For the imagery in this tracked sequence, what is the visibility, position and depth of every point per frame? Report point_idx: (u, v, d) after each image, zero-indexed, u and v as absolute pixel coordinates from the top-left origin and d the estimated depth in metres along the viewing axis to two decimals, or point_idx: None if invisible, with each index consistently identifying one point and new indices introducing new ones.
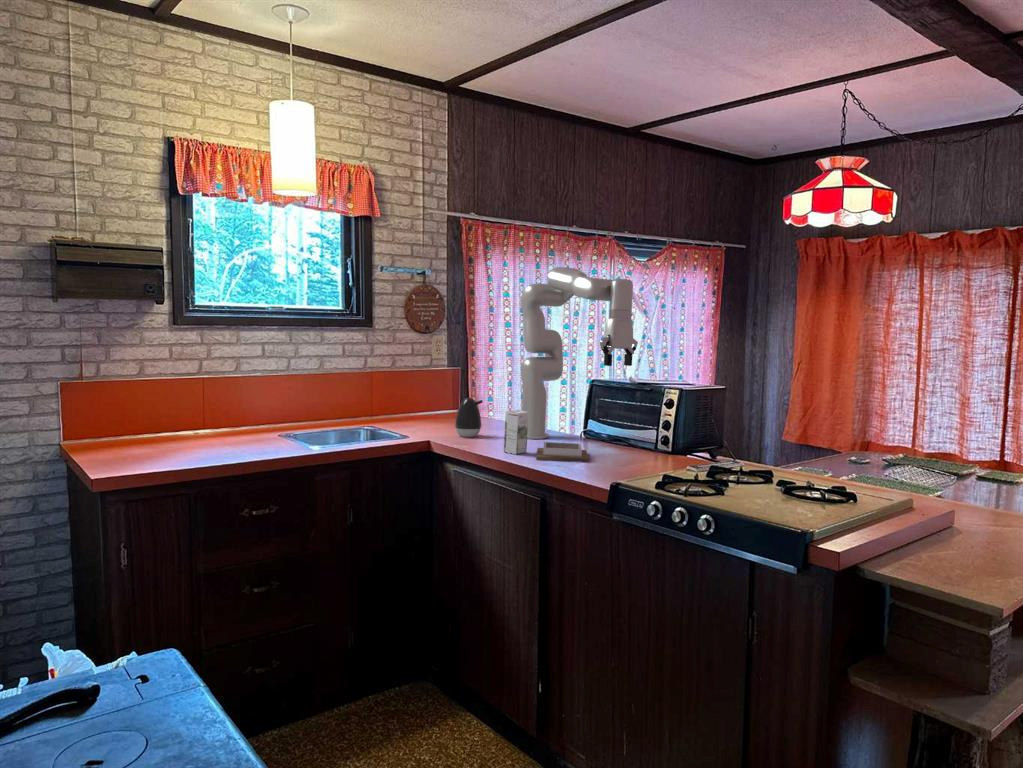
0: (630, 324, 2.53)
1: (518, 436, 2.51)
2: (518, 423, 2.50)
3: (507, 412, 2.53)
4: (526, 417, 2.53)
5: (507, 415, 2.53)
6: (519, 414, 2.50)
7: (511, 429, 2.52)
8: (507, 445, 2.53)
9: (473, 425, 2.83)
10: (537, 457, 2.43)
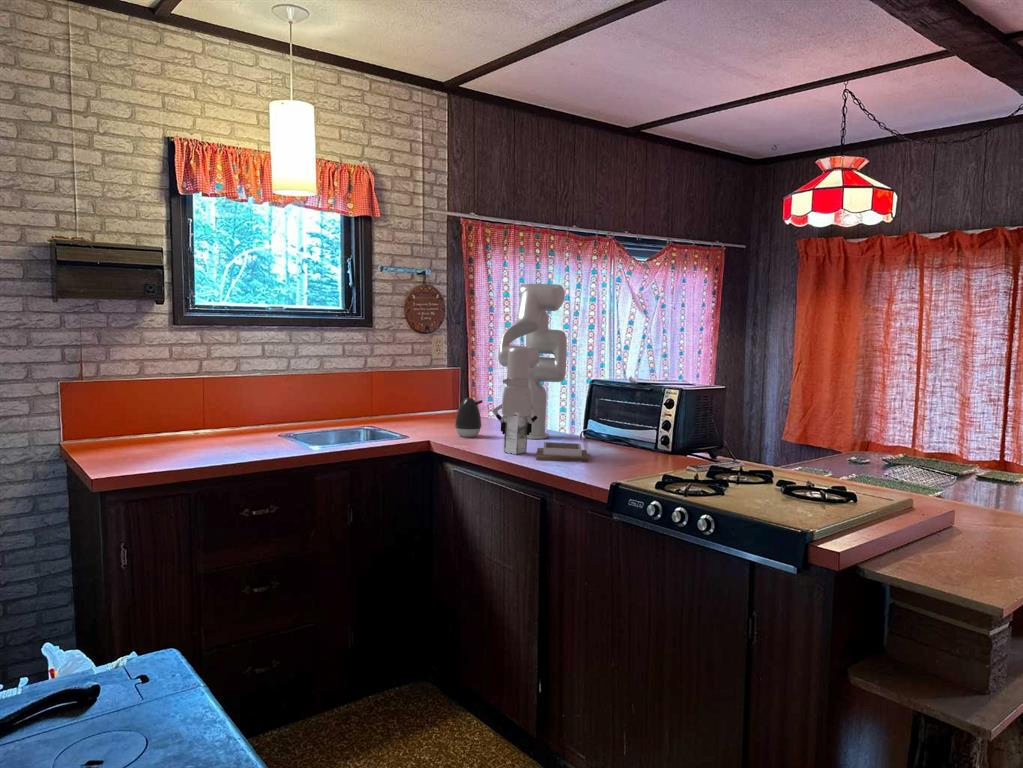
0: None
1: (518, 436, 2.51)
2: (518, 423, 2.50)
3: None
4: None
5: None
6: (519, 414, 2.50)
7: (511, 429, 2.52)
8: (507, 445, 2.53)
9: (473, 425, 2.83)
10: (537, 457, 2.43)
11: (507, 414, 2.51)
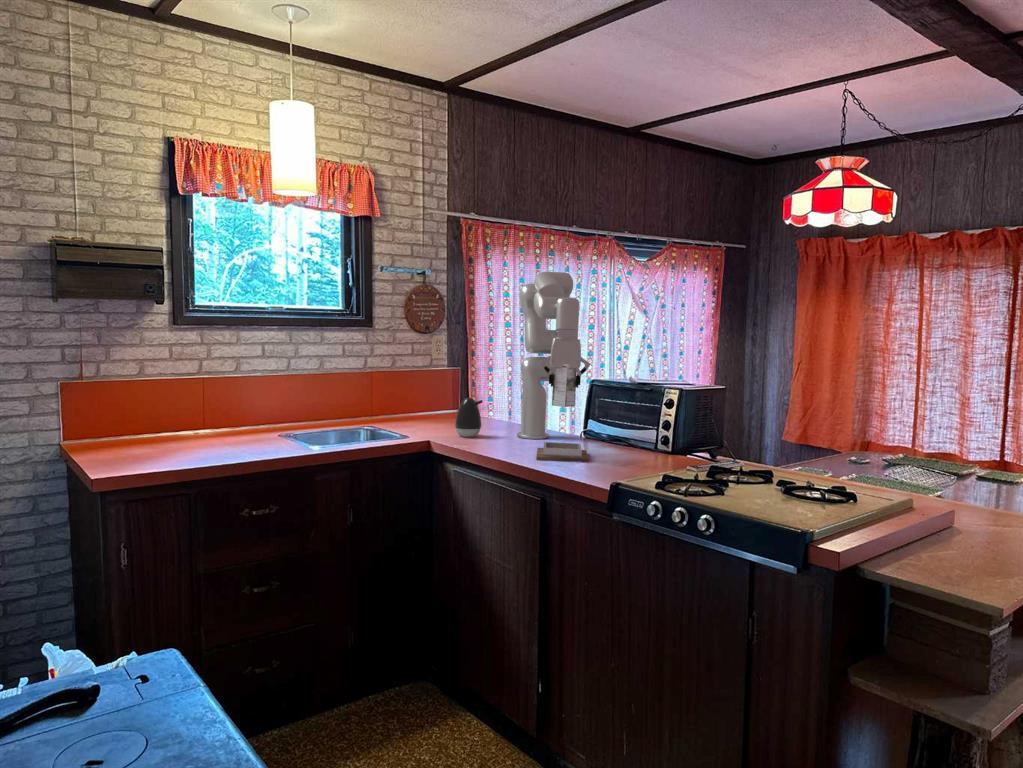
0: None
1: (567, 388, 2.46)
2: (567, 375, 2.45)
3: None
4: None
5: None
6: (568, 365, 2.45)
7: (560, 381, 2.47)
8: (556, 398, 2.48)
9: (473, 425, 2.83)
10: (537, 457, 2.43)
11: (556, 366, 2.46)
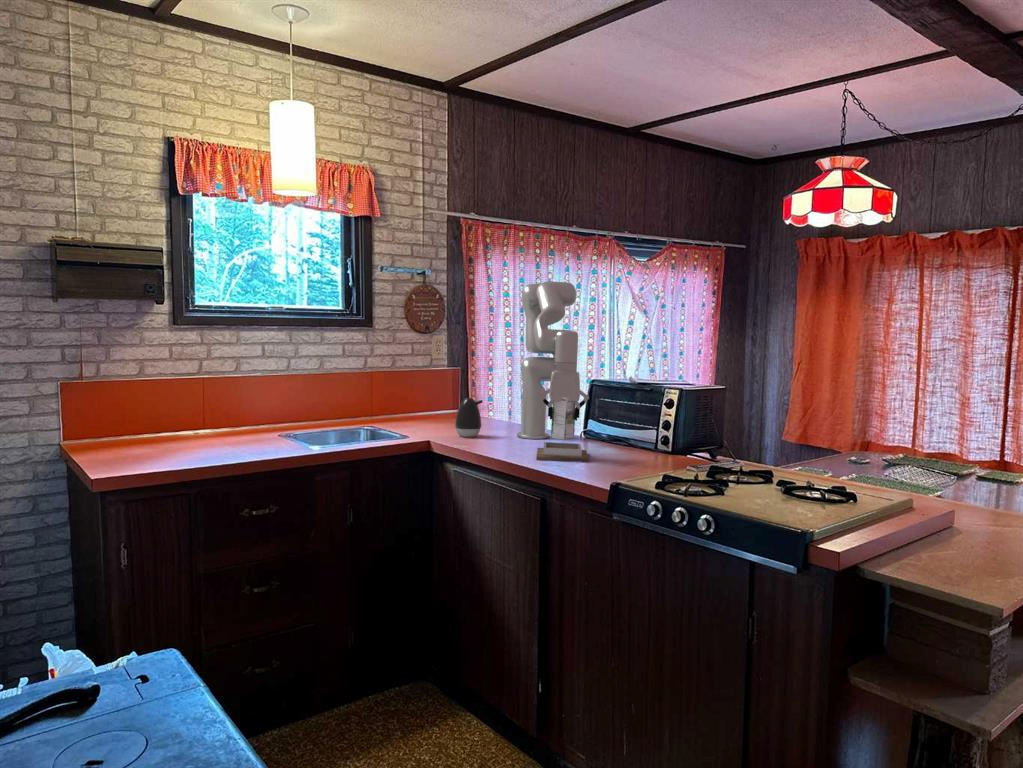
0: None
1: (566, 421, 2.47)
2: (566, 408, 2.46)
3: None
4: None
5: None
6: (567, 399, 2.46)
7: (559, 414, 2.48)
8: (555, 430, 2.49)
9: (473, 425, 2.83)
10: (537, 457, 2.43)
11: (555, 399, 2.47)
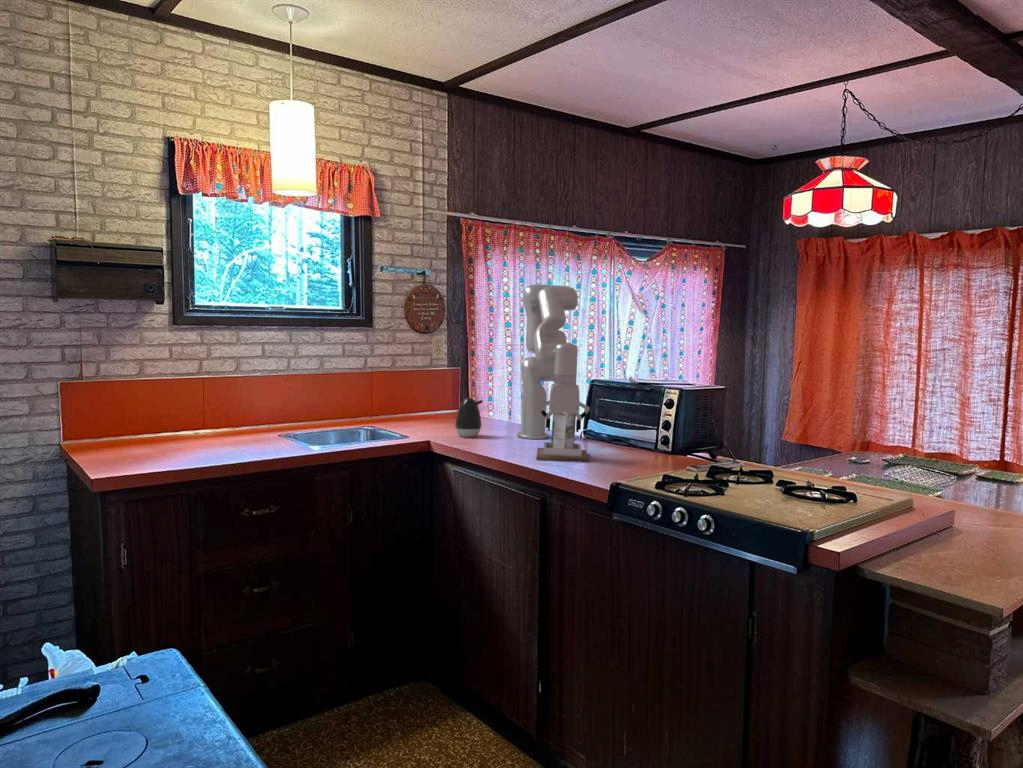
0: None
1: (566, 436, 2.47)
2: (566, 423, 2.47)
3: None
4: (574, 416, 2.50)
5: (554, 414, 2.49)
6: (567, 413, 2.47)
7: (559, 428, 2.48)
8: (555, 445, 2.49)
9: (473, 425, 2.83)
10: (537, 457, 2.43)
11: (554, 411, 2.47)
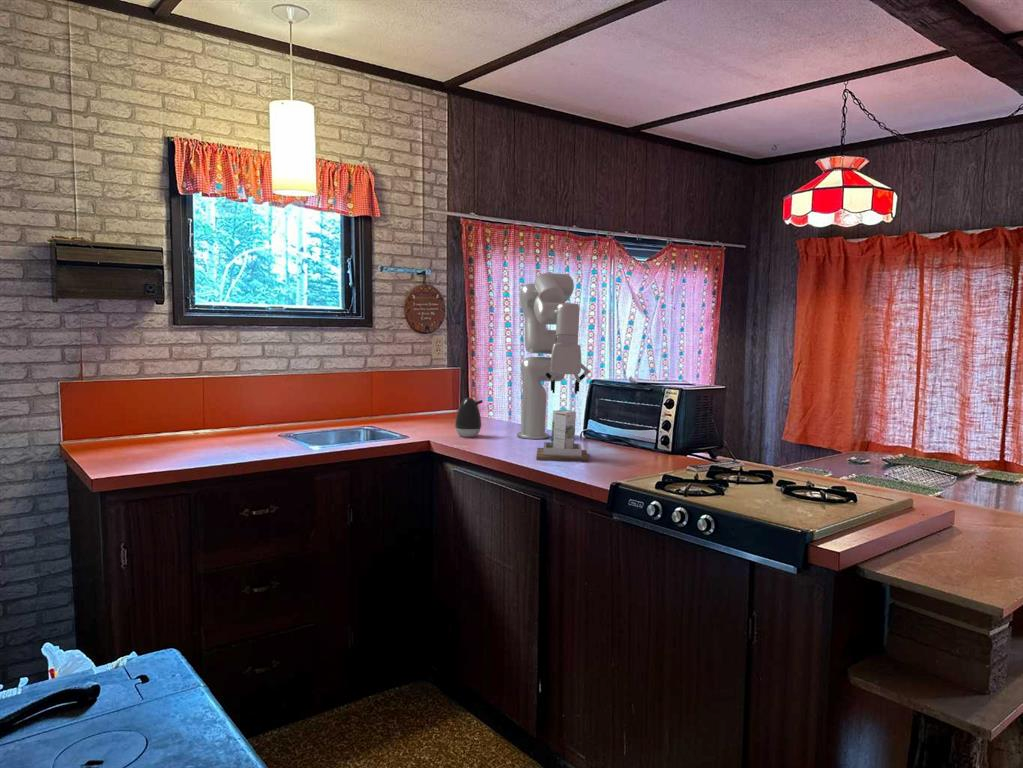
0: None
1: (566, 436, 2.47)
2: (566, 423, 2.47)
3: (554, 411, 2.49)
4: (574, 416, 2.50)
5: (554, 414, 2.49)
6: (567, 413, 2.47)
7: (559, 428, 2.48)
8: (555, 445, 2.49)
9: (473, 425, 2.83)
10: (537, 457, 2.43)
11: (556, 371, 2.46)
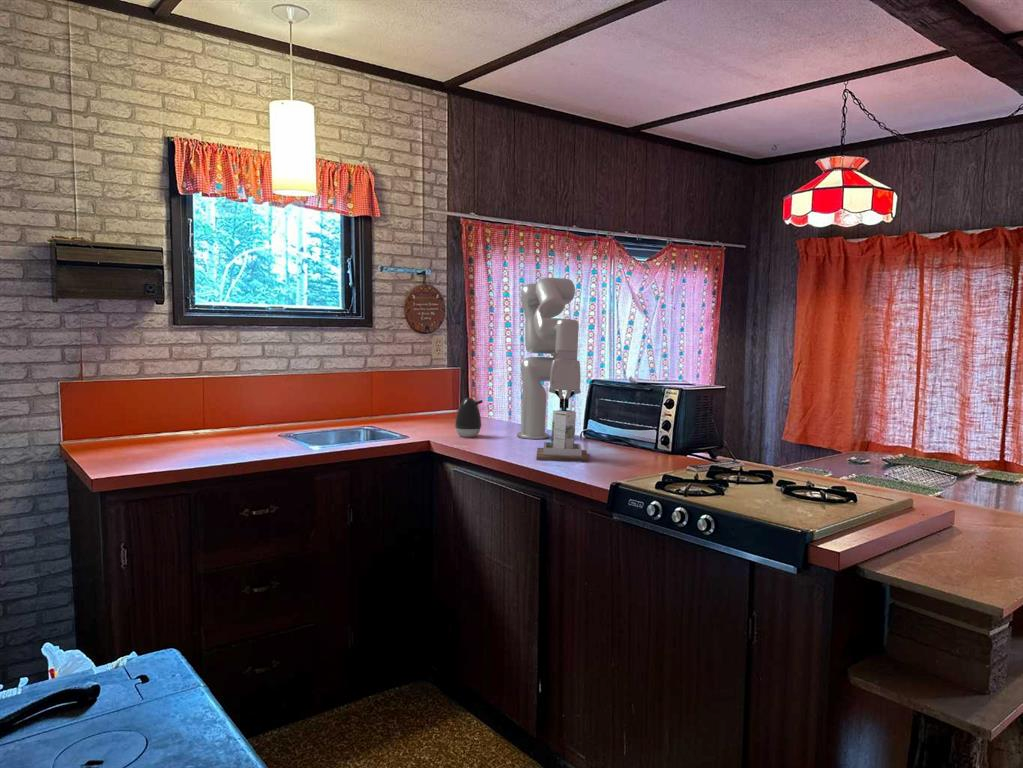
0: None
1: (566, 436, 2.47)
2: (566, 423, 2.47)
3: (554, 411, 2.49)
4: (574, 416, 2.50)
5: (554, 414, 2.49)
6: (567, 413, 2.47)
7: (559, 428, 2.48)
8: (555, 445, 2.49)
9: (473, 425, 2.83)
10: (537, 457, 2.43)
11: (555, 387, 2.46)
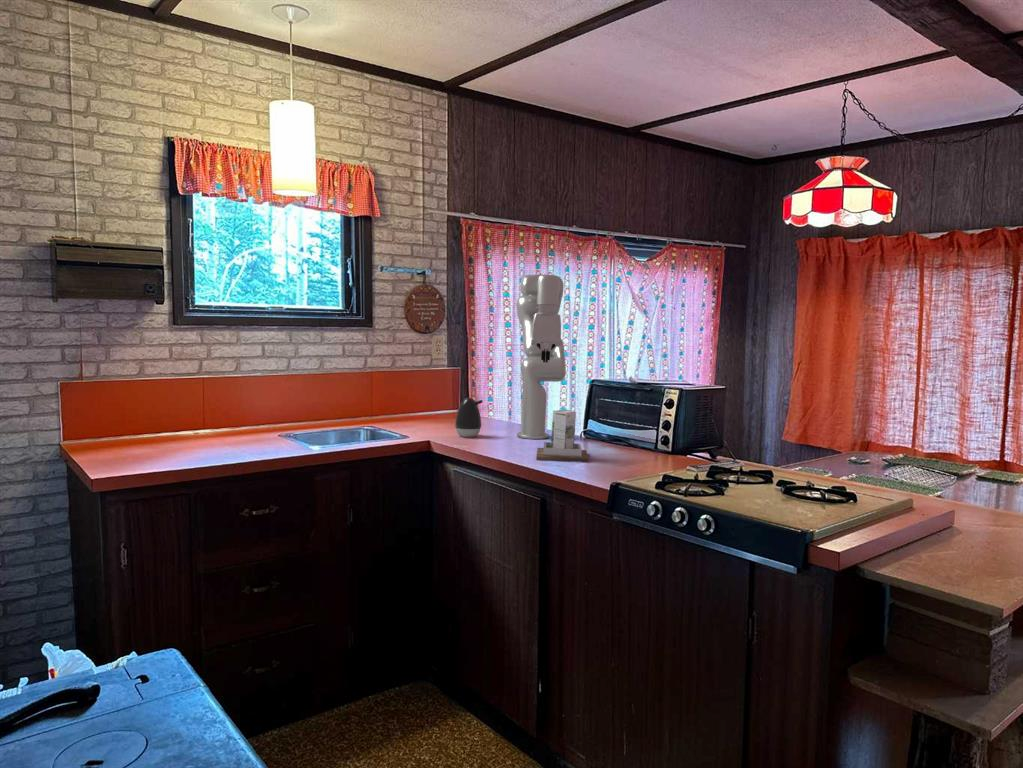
0: None
1: (566, 436, 2.47)
2: (566, 423, 2.47)
3: (554, 411, 2.49)
4: (574, 416, 2.50)
5: (554, 414, 2.49)
6: (567, 413, 2.47)
7: (559, 428, 2.48)
8: (555, 445, 2.49)
9: (473, 425, 2.83)
10: (537, 457, 2.43)
11: (537, 339, 2.59)
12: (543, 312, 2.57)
